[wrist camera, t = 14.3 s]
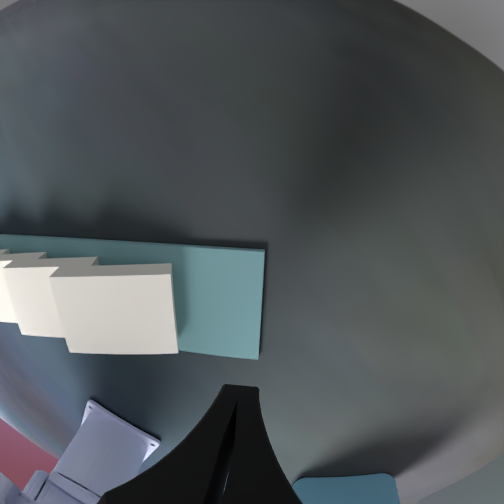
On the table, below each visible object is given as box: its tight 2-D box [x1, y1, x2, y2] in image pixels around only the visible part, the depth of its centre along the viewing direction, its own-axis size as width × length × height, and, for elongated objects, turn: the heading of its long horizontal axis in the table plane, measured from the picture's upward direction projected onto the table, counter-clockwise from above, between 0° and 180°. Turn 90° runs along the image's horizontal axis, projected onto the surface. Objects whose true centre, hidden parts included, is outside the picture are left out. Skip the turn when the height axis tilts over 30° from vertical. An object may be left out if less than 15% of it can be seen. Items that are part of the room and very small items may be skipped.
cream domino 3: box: [49, 263, 178, 354], centre depth 15 cm, size 2×5×7 cm
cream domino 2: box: [3, 257, 99, 338], centre depth 15 cm, size 2×5×7 cm
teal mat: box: [0, 234, 265, 360], centre depth 17 cm, size 28×7×1 cm, turn 88°
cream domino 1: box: [0, 252, 47, 323], centre depth 15 cm, size 2×5×7 cm
